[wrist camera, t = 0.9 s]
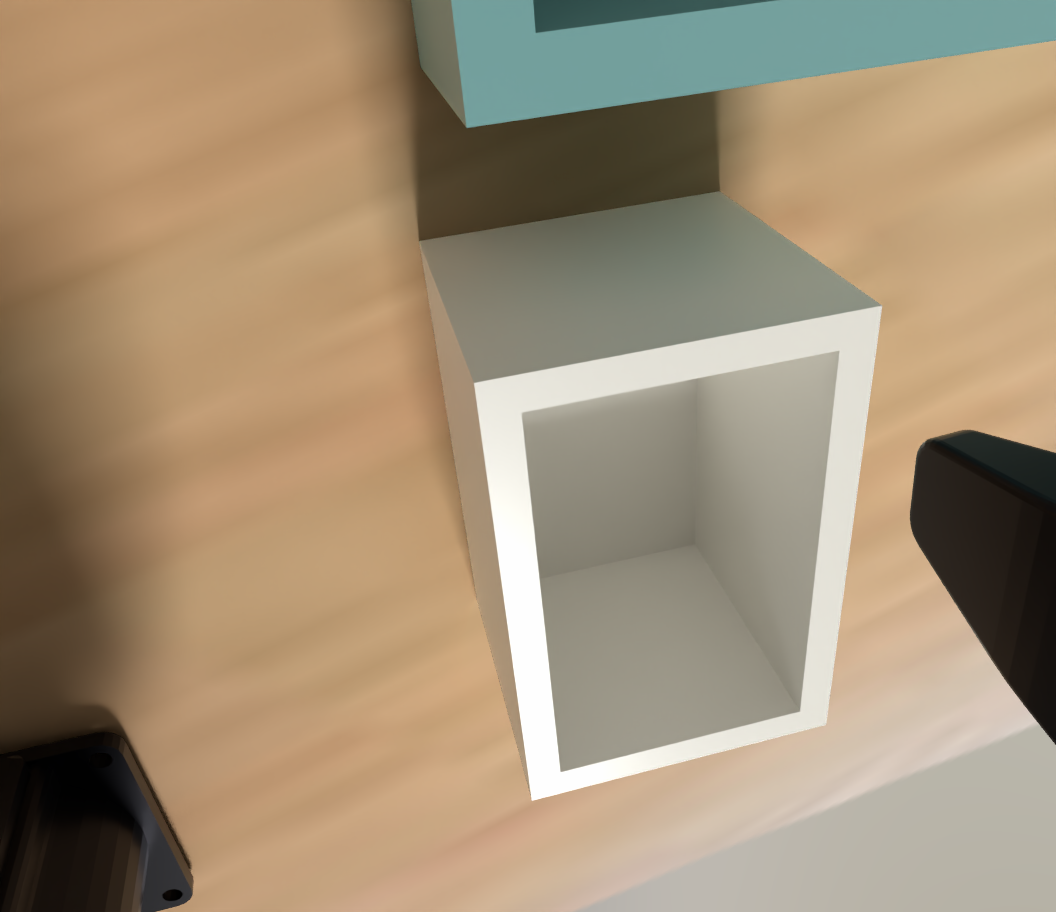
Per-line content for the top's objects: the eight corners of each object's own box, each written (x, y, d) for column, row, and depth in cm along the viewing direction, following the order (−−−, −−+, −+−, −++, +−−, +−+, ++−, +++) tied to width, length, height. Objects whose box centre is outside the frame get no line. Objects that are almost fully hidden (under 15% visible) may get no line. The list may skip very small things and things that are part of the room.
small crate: (708, 543, 23) (825, 724, 18) (475, 595, 22) (532, 800, 17) (716, 189, 18) (882, 305, 13) (418, 238, 17) (473, 383, 12)
